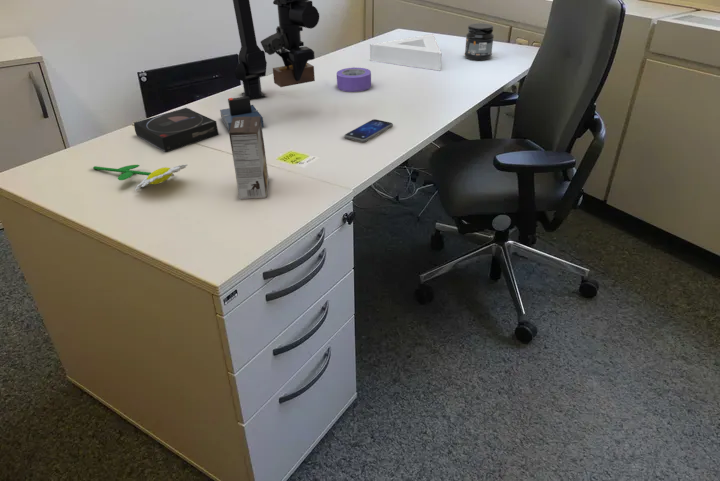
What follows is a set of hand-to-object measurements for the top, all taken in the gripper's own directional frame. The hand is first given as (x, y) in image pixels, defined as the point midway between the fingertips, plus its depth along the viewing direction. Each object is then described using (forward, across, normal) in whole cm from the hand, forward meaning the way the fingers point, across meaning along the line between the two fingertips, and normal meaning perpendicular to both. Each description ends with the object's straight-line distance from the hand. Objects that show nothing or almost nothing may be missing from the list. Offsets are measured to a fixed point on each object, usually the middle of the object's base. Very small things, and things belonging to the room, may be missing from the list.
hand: (294, 78), depth 163 cm
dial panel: (+11, -2, -17) cm, 20 cm away
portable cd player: (+11, -3, -36) cm, 38 cm away
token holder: (+1, 0, 0) cm, 1 cm away
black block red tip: (+8, -2, -17) cm, 19 cm away
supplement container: (+11, -19, +87) cm, 90 cm away
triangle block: (+11, -32, +60) cm, 69 cm away
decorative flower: (+11, +21, -52) cm, 57 cm away
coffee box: (+11, +40, -29) cm, 51 cm away
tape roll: (+11, -14, +28) cm, 33 cm away
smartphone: (+11, +24, +11) cm, 29 cm away
